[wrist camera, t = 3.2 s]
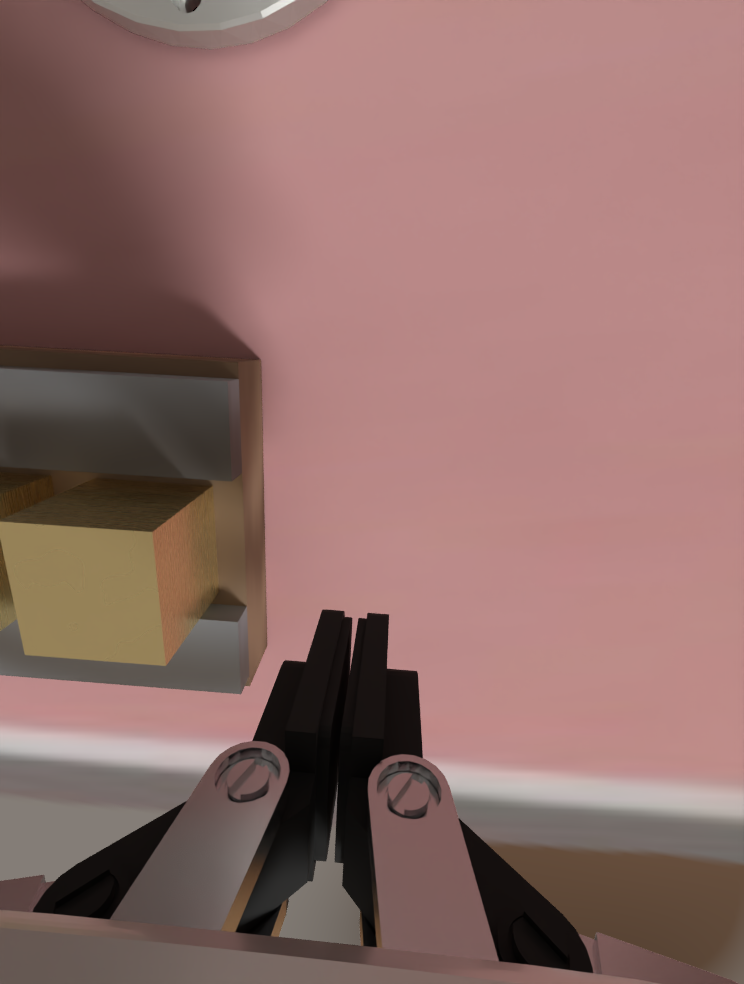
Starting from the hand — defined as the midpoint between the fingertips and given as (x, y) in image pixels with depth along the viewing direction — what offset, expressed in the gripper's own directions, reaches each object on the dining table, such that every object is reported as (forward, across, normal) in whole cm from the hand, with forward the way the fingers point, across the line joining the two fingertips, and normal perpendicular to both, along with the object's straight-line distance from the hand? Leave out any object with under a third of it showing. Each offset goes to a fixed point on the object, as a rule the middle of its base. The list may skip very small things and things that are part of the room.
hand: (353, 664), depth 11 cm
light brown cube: (+5, +7, -1) cm, 9 cm away
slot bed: (+7, +11, -1) cm, 13 cm away
